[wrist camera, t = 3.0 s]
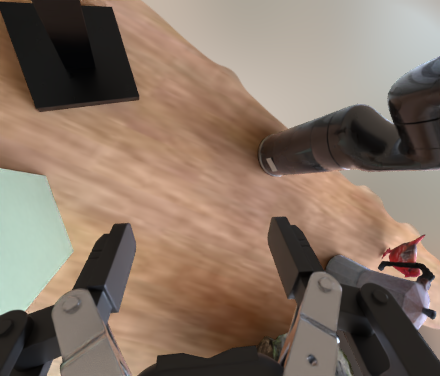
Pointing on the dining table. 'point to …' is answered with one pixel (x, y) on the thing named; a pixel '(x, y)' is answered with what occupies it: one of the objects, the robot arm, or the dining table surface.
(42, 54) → the stand
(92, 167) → the dining table surface
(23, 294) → the rest block
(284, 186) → the dining table surface
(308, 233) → the dining table surface
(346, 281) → the moka pot
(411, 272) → the decorative bird figurine
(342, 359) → the hollow geode rock
